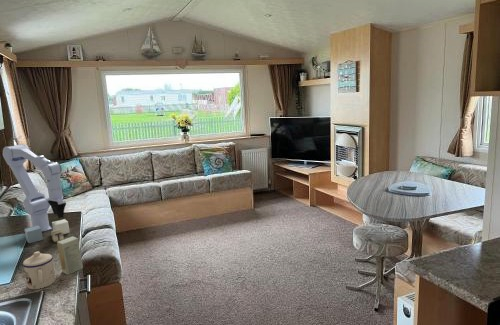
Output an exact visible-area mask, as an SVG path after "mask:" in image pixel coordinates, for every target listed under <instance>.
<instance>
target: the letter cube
mask: <svg viewBox="0 0 500 325" xmlns="http://www.w3.org/2000/svg"><path fill="white" fill-rule="evenodd" d="M50 234H51V240H52V241H53V242H54V243H55V242H56V243H57V242H58V241H61V240H64V239H65V238H64V237H65V236H64V234H63V231H62V230H61V229H59V230H55V231H53V230H51V231H50Z"/></svg>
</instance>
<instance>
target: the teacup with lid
mask: <svg viewBox="0 0 500 325" xmlns="http://www.w3.org/2000/svg"><path fill="white" fill-rule="evenodd" d="M53 259H54V257H53V255H52V254H50V253H41V252H40V251H39V250H38V251H35V252H33V254H32V255H31V256H30V257H28V258H26V259H25V260H23V263H22V266H23V269H24V274H25V275H24V277H25V281H26V287H27V288H28V289H30V290H40V288H41V289H44V287H45V288H47V287H50V286H51V285H53V284H54V283H55V281H56V275H55V268H54V262H53Z"/></svg>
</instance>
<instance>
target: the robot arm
mask: <svg viewBox="0 0 500 325" xmlns="http://www.w3.org/2000/svg"><path fill="white" fill-rule="evenodd" d="M2 157H3V159H4V161H5V163H6V164H7V166H9V167H10V169H11V171H12V174H13V175H14V177H15V178H16V180H17V182H18V184H19V186H20V189H22V191H23V193H24V196H25V198H24V200H23V202H22V204H23V206H24V210H25V212H26V213H27V215H30V222H31V227H34V226H39V227H40V228H41V230H42V232H46V231H50V230H53V227H51V225H50V222H49V215H48V211H49V209H50V207H51V210H52V213H53V215H57V217H58V219H60V218H64V216H65V208H66V205H67V202H63V201H64V200H63V199H64V195H63V189H62V182H61V175H60V174H61V173H62V171H63V167H62V165H61V163H59V161H55V162H54V161H51V160H49V159H47V158H46V157H45V156H44V155H37V154H36V153H34V152H33V151H31V149H30V146H28V145H26V144H24V143H23V144H17V145H11V146H4V147H3V148H2ZM27 160H28V161H29V162H31V163H32V165H33V167H35V168H37V169H39V170H40V171H41V173H42V174H43V176H44V180H46V185H47V191H48V192H47V194H48V197H46V195H45V193H42V192H39V191H38V189H37V188H36V187H35V184H34V183H33V181H32V179H31V177H30V176H29V173H28V171H27V170H26V169H25V168H26V167H25V166H24V163H26V161H27Z"/></svg>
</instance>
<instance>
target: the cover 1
mask: <svg viewBox="0 0 500 325" xmlns="http://www.w3.org/2000/svg"><path fill="white" fill-rule="evenodd" d="M24 234H25V240H26V242H27V243H28V244H31V243H36V242H39V241H43V240H44V237H43V231H42V230H41V228H40V227H39V226H34V227H32V226H31V227H26V228H24Z"/></svg>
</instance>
